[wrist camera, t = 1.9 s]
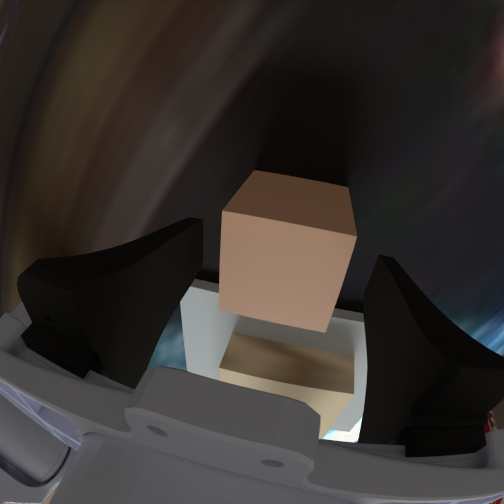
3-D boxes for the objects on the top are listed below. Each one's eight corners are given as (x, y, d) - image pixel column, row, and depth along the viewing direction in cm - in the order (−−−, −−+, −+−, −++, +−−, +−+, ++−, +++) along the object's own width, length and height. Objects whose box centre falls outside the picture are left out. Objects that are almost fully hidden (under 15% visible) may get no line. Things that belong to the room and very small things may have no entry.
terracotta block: (246, 249, 17) (218, 309, 13) (254, 169, 14) (222, 210, 10) (328, 265, 16) (325, 332, 12) (348, 186, 14) (356, 236, 9)
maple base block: (228, 394, 23) (218, 423, 21) (232, 331, 19) (218, 367, 17) (322, 412, 22) (318, 443, 20) (354, 355, 18) (354, 394, 15)
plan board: (194, 392, 26) (191, 399, 25) (184, 276, 19) (179, 283, 18) (349, 424, 24) (349, 431, 23) (419, 322, 17) (421, 331, 16)
